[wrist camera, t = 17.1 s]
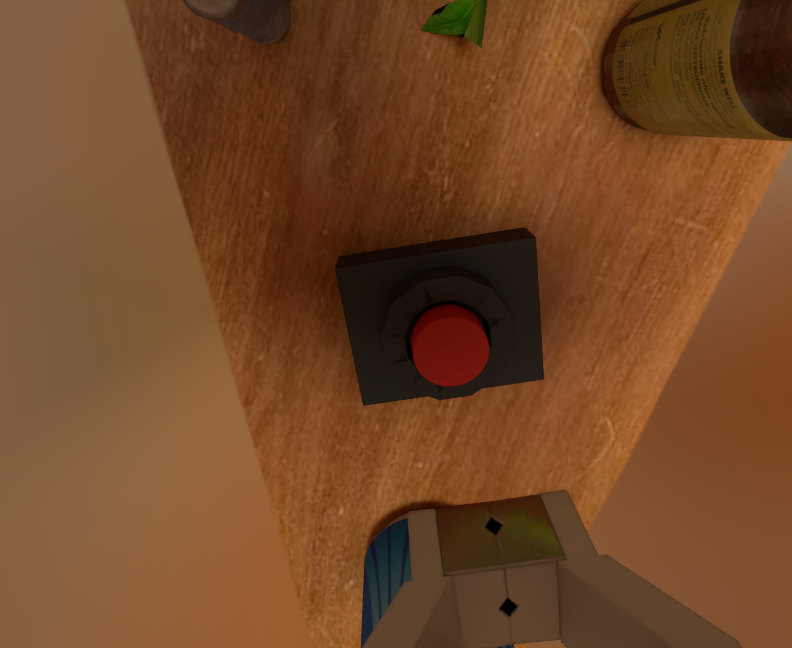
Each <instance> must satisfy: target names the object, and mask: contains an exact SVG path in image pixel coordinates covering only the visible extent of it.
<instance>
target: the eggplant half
mask: <svg viewBox="0 0 792 648" xmlns="http://www.w3.org/2000/svg"><path fill="white" fill-rule="evenodd" d="M183 1H184V3H185V4H186V6H187V7H188V8H189V9H190V10H191V11H192V12H194V13H195V14H196V15H197V16H201V17H203V18H205V19H208V20H211V21H213V22H216V23H218V24H221V25H223V26H225V27H226V28H228V29H230V30H232V31H235V32H238V33H241V34H243V35H245V36H247V37H249V38H250V39H251V40H253V41H255V42H257V43H263V44H271V43H274V42H276V41H278V40H280V39H281V38H282V37H283V36H284V35H285V33H286V32H287V30H288V28H289V25H290V11H289V0H183Z"/></svg>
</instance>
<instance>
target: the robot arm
mask: <svg viewBox="0 0 792 648" xmlns="http://www.w3.org/2000/svg"><path fill="white" fill-rule="evenodd" d="M435 511H436V514H435ZM436 519H437V520H436ZM408 529H409V543H410V557H411V572H412V581H408V582H404V583H403V585H402V586H401V588H400V589H399V591H398V593H397V594H396V596H395V597H394V599H393V600H392V602H391V603H390V605H389V606H388V608H387V610H386V611H385V613H384V614H383V616H382V617H381V619H380V620H379V622H378V624H377V625H376V627H375V628H374V630H373V631H372V633H371V634H370V636H369V638H368V639H367V641H366V642H365V644H364V645H363V647H362V648H493V647H499V646H506V645H512V644H522V643H532V642H541V641H551V640H561V642H562V643H563V644H564V645H565V646H566V648H742V647H741V645H740V644H739V642H738V641H737V640H736V639H734V638H733V637H731V636H730V635H728V634H727V633H725V632H724V631H722V630H721V629H719V628H717V627H716V626H715V625H713V624H712V623H710V622H709V621H707V620H705V619H704V618H702V617H701V616H699V615H698V614H696V613H695V612H693V611H692V610H690V609H689V608H687V607H686V606H684V605H683V604H681V603H680V602H678V601H677V600H675V599H673V598H672V597H671V596H669V595H668V594H666V593H664V592H663V591H661V590H660V589H658V588H657V587H655V586H654V585H652V584H651V583H649V582H648V581H646V580H645V579H643V578H641V577H640V576H638V575H637V574H636V573H634V572H633V571H631V570H630V569H628V568H626V567H625V566H623V565H622V564H620V563H619V562H617V561H616V560H614V559H613V558H611V557H610V556H608V555H599V556H598V553H597V551H596V549H595V547H594V545H593V543H592V541H591V539H590V537H589V535H588V533H587V531H586V529H585V527H584V524H583V522H582V520H581V518H580V516H579V514H578V512H577V510H576V508H575V506H574V504H573V502H572V500H571V498H570V495H569V493H568V492H567V491H565V490H559V491H553V492H547V493H540V494H538V495H530V496H523V497H516V498H509V499H503V500H496V501H489V502H482V503H473V504H465V505H456V506H447V507H439V508H435V509H426V510H417V511H409V512H408Z"/></svg>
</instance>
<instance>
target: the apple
mask: <svg viewBox="0 0 792 648" xmlns="http://www.w3.org/2000/svg"><path fill="white" fill-rule="evenodd" d="M486 6H487V0H458V1H455V2H452V3H449V4H447V5H445V6H443V7H441V8H439V9H437V10H435V12H434V13H433V14H432V16H431V17H430V18H429V20H428V21H427V22H426V24H425V25H424V26H423V28H422V29H421V31H427V32H434V33H440V34H446V35H453V36H459V37H466V38H467V39H469V40H470V41H472V42H474V43H475V44H477V45H478V46H480V47H482V39H483V31H484V23H485V14H486Z"/></svg>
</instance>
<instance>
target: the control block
mask: <svg viewBox="0 0 792 648" xmlns="http://www.w3.org/2000/svg"><path fill="white" fill-rule="evenodd" d="M335 271H336V276H337V281H338V286H339V290H340V295H341V300H342V305H343V310H344V315H345V320H346V324H347V329H348V334H349V339H350V344H351V349H352V353H353V358H354V363H355V368H356V373H357V378H358V383H359V387H360V392H361V397H362V402H363V405H371V404H378V403H385V402H392V401H398V400H405V399H412V398H419V397H426V396H429V397H432V398H435V399H439V400H443V399H450V398H457V397H464V396H470V395H472V394H474V393H476V392H477V391H479V390H480V389H482V388H488V387H495V386H502V385H508V384H515V383H522V382H529V381H536V380H543V379H544V371H543V354H542V336H541V319H540V302H539V284H538V267H537V250H536V237H535V236H534V235H533V234H531V233H530V232H529V231H528V230H527V229H526V228H518V229H512V230H505V231H499V232H493V233H486V234H480V235H474V236H467V237H461V238H454V239H448V240H442V241H435V242H429V243H423V244H416V245H410V246H403V247H397V248H391V249H384V250H378V251H372V252H365V253H359V254H352V255H346V256H340V257H338V261H337V264H336V268H335ZM447 304H452V305H458V306H462V307H464V308H466V309H468V310H470V311H471V312H472V313H474V314H475V315H476V317H477V318H478V319H479V321H480V323H481V325H482V327H483V329H484V332H485V334H486V336H487V339H488V342H489V357H488V361H487V363H486V365H485V367H484V369H483V370H482V371H481V373H480V374H479V375H478V376H476V377H475V378H474V379H472V380H471V381H469V382H467V383H465V384H462V385H457V386H441V385H437V384H435V383H432V382H430V381H429V380H427V379H426V378H424V377H423V376H422V375H421V374H420V372H419V371H418V370H417V368H416V366H415V363H414V360H413V353H412V344H411V334H412V330H413V327H414V325H415V323H416V322H417V320H418V319H419V318H420V317H421V315H423V314H424V313H425V312H426V311H428V310H429V309H431V308H434V307H436V306H440V305H447Z"/></svg>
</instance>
